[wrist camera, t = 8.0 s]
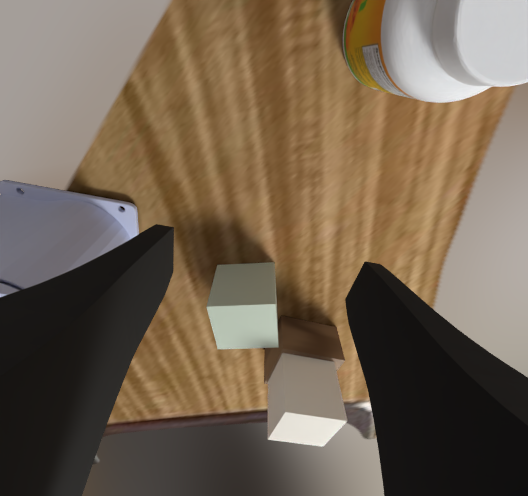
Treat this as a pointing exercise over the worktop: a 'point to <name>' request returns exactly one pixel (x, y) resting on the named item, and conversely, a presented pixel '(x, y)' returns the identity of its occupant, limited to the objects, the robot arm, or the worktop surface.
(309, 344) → the walnut block
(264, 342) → the sage cube
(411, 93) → the supplement bottle
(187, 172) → the worktop surface
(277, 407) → the cream cube
